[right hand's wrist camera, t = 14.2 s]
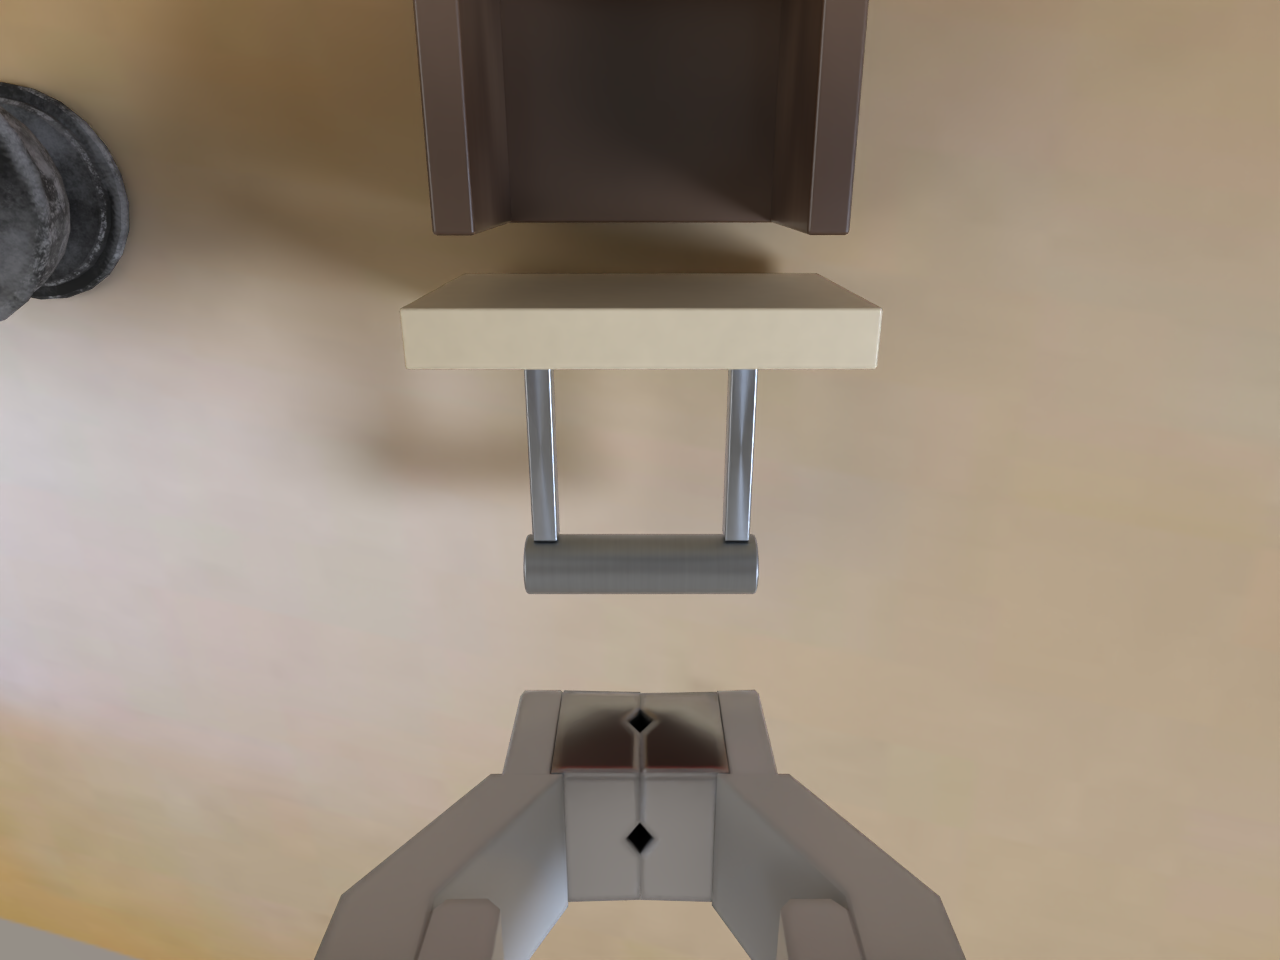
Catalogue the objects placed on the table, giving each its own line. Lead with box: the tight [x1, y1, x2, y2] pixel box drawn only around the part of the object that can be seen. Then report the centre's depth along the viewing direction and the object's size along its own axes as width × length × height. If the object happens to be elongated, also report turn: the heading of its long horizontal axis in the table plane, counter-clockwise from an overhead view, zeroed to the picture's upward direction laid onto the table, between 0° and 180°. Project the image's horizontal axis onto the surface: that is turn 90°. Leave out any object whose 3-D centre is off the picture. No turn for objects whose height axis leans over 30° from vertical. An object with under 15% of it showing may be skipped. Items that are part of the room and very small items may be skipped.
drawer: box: [400, 0, 882, 594], centre depth 17 cm, size 25×9×6 cm, turn 0°
